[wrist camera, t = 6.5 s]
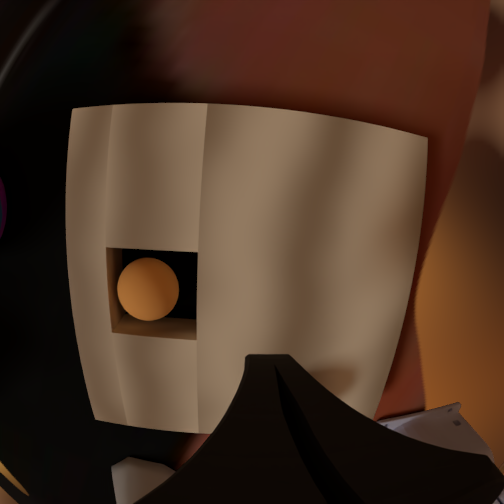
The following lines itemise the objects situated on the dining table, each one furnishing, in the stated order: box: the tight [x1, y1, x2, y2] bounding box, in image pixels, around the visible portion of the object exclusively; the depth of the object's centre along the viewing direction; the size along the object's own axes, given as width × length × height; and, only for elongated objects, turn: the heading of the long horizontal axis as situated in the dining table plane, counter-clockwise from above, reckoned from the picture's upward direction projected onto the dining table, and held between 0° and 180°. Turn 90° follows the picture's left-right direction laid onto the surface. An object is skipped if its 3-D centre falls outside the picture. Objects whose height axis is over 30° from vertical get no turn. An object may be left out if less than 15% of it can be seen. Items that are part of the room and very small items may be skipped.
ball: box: [117, 258, 179, 321], centre depth 15 cm, size 3×3×3 cm
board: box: [66, 103, 428, 434], centre depth 16 cm, size 18×18×2 cm
